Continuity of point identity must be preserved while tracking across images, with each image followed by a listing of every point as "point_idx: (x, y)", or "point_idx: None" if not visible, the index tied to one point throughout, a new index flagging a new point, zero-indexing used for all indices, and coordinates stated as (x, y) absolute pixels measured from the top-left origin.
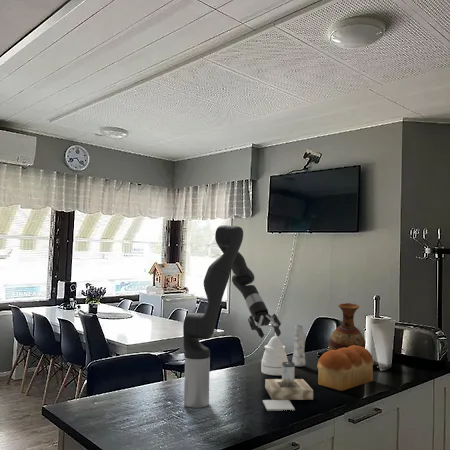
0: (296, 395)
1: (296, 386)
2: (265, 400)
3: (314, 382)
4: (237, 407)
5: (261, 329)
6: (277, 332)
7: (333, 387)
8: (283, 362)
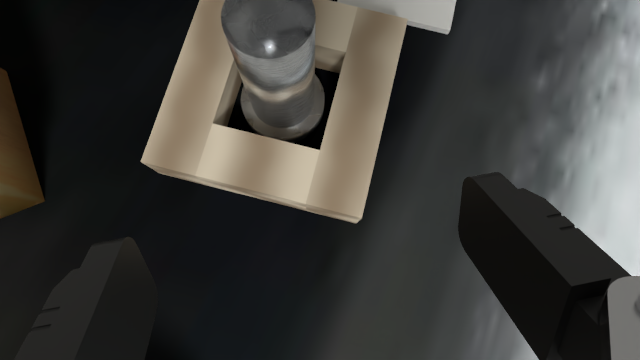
0: None
1: (222, 115)
2: (439, 23)
3: (38, 243)
4: (571, 2)
5: (548, 251)
6: (128, 298)
7: (15, 112)
8: (296, 41)
